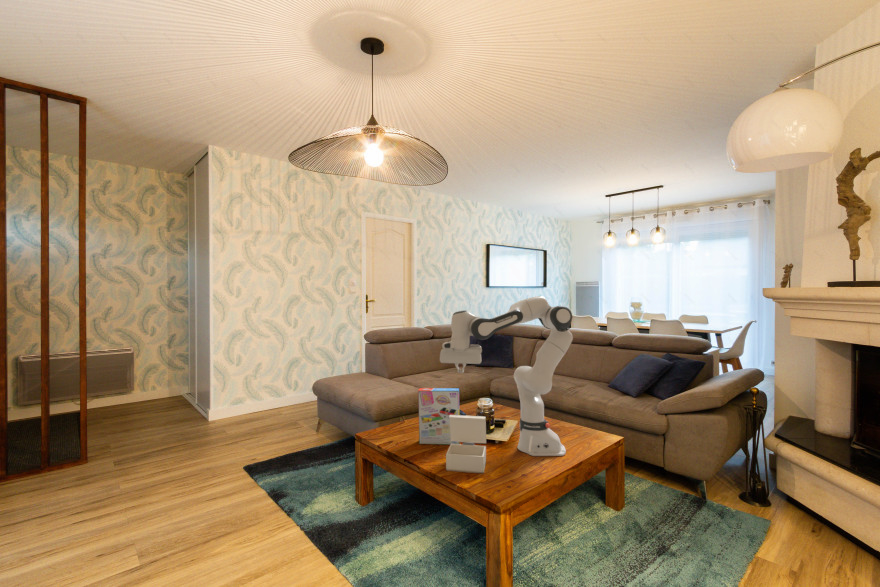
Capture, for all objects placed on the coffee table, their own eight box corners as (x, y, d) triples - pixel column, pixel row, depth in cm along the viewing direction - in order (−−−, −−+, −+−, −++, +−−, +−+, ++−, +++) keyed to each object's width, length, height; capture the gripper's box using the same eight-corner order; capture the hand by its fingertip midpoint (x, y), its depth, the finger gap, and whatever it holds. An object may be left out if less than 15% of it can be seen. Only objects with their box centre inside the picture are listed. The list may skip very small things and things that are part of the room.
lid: (486, 461, 183) (487, 450, 191) (485, 418, 179) (486, 409, 188) (450, 458, 186) (453, 448, 194) (448, 416, 182) (452, 407, 191)
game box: (460, 441, 208) (459, 388, 207) (459, 445, 202) (459, 390, 202) (420, 440, 210) (419, 387, 210) (418, 444, 204) (417, 390, 204)
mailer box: (485, 461, 182) (485, 446, 182) (483, 473, 171) (483, 456, 171) (450, 459, 186) (450, 443, 186) (446, 470, 174) (446, 454, 174)
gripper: (482, 343, 199) (482, 371, 199) (441, 342, 202) (441, 370, 203) (481, 345, 192) (481, 374, 192) (438, 344, 196) (439, 373, 196)
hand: (460, 372), depth 197 cm, fingers closed
